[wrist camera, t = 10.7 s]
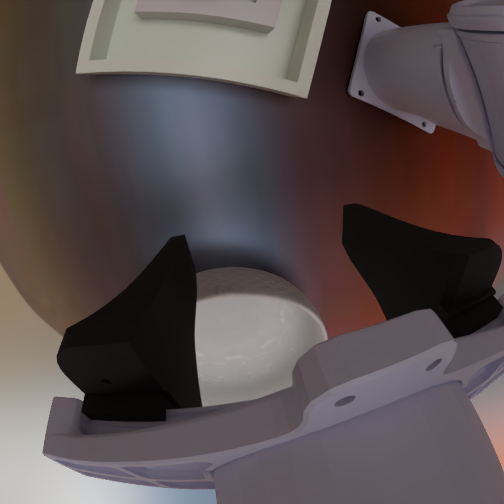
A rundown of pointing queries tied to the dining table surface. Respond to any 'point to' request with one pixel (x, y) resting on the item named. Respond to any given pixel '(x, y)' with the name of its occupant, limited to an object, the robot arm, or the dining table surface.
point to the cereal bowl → (250, 333)
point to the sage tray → (208, 41)
